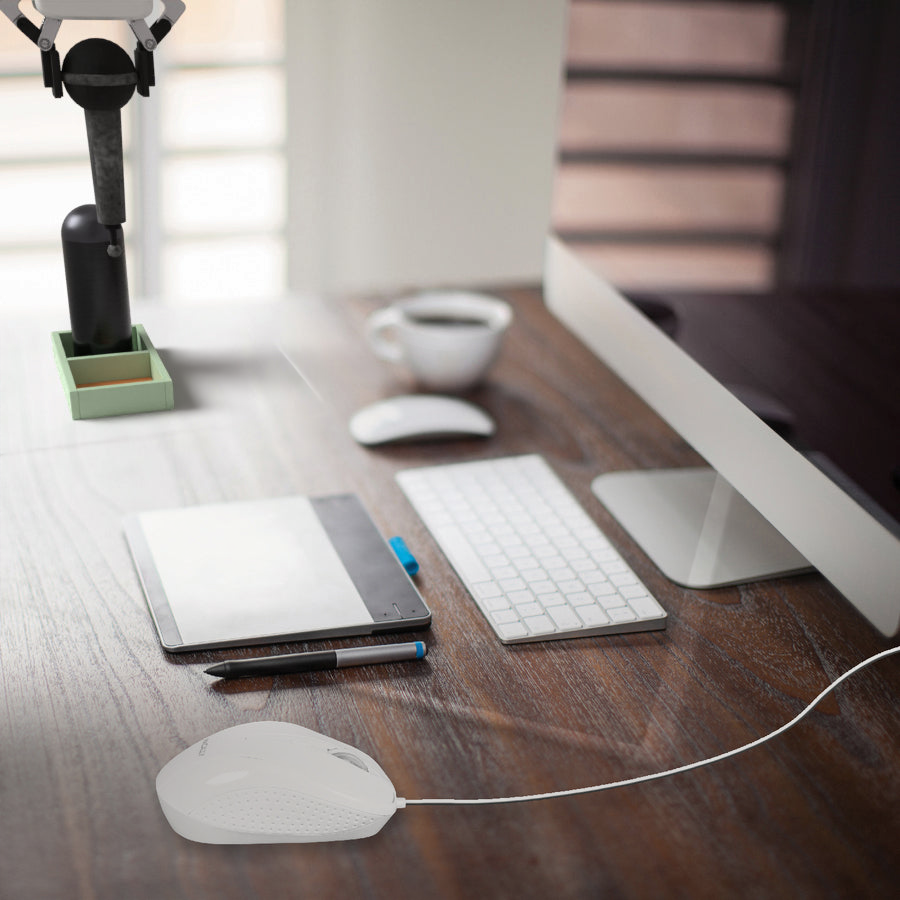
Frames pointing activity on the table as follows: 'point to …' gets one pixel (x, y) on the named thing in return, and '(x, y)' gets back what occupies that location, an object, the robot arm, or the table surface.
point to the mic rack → (113, 378)
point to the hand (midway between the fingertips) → (101, 94)
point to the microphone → (103, 121)
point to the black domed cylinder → (95, 286)
